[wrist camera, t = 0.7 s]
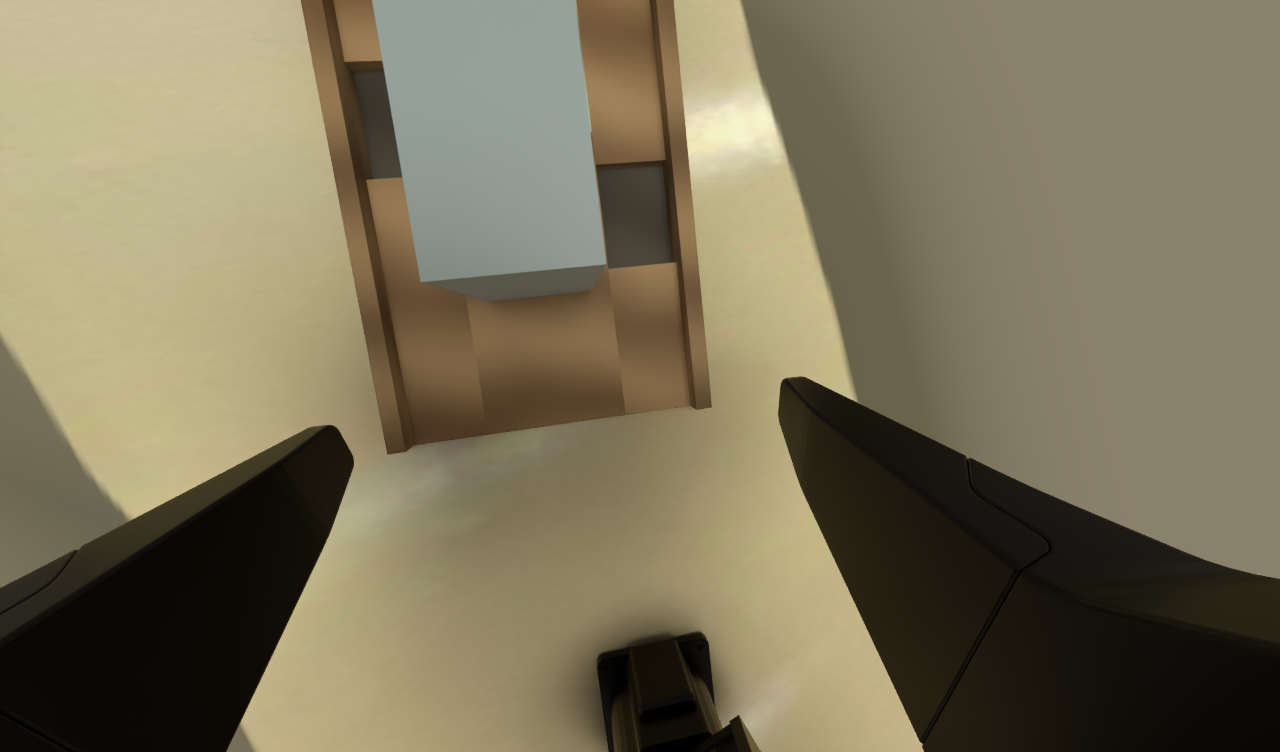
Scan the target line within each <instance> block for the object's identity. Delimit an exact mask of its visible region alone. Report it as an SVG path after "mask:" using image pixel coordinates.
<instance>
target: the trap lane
mask: <svg viewBox="0 0 1280 752" xmlns="http://www.w3.org/2000/svg"><path fill="white" fill-rule="evenodd" d="M301 4H302V9H303V14H304V20H305V25H306V30H307V35H308V41H309V46H310V51H311V56H312V61H313V67H314V72H315V77H316V82H317V88H318V93H319V98H320V103H321V109H322V114H323V119H324V124H325V130H326V135H327V140H328V145H329V151H330V156H331V161H332V166H333V171H334V177H335V182H336V187H337V192H338V198H339V203H340V208H341V213H342V219H343V224H344V229H345V234H346V240H347V245H348V250H349V255H350V261H351V266H352V271H353V276H354V281H355V287H356V292H357V297H358V302H359V308H360V313H361V318H362V323H363V329H364V334H365V339H366V344H367V350H368V355H369V360H370V365H371V370H372V376H373V381H374V386H375V391H376V397H377V402H378V407H379V412H380V418H381V423H382V428H383V433H384V439H385V444H386V449H387V454H393V453H400V452H406V451H407V450H409V449H410V448H411V447H413V446H414V445H418V444H425V443H432V442H439V441H446V440H453V439H460V438H467V437H474V436H481V435H488V434H495V433H502V432H509V431H516V430H523V429H530V428H537V427H544V426H550V425H557V424H564V423H571V422H578V421H585V420H592V419H599V418H606V417H613V416H620V415H627V414H634V413H641V412H648V411H655V410H662V409H669V408H676V407H683V406H690V405H691V406H692V407H694V408H695V409H704V408H711V407H712V404H711V394H710V383H709V372H708V362H707V351H706V341H705V330H704V319H703V309H702V298H701V288H700V277H699V266H698V256H697V245H696V235H695V224H694V213H693V203H692V192H691V182H690V171H689V160H688V150H687V139H686V129H685V118H684V107H683V97H682V86H681V75H680V65H679V54H678V44H677V33H676V22H675V12H674V1H673V0H575V8H576V16H577V24H578V33H579V41H580V49H581V58H582V66H583V74H584V83H585V91H586V99H587V108H588V116H589V124H590V133H591V141H592V149H593V158H594V166H595V174H596V183H597V191H598V199H599V208H600V216H601V224H602V233H603V241H604V249H605V258H606V266H605V267H604V269H603V271H602V273H601V274H600V276H599V278H598V280H597V281H596V283H595V285H594V287H593V288H592V290H591V291H587V292H578V293H568V294H559V295H549V296H539V297H530V298H520V299H511V300H501V301H491V302H487V301H484V300H480V299H477V298H473V297H470V296H467V295H463V294H460V293H456V292H453V291H449V290H446V289H442V288H439V287H436V286H432V285H429V284H425V283H422V282H421V281H420V276H419V270H418V264H417V258H416V252H415V247H414V241H413V235H412V229H411V223H410V218H409V212H408V206H407V200H406V195H405V189H404V183H403V177H402V171H401V166H400V160H399V154H398V148H397V142H396V137H395V131H394V125H393V119H392V113H391V108H390V102H389V96H388V90H387V84H386V79H385V73H384V67H383V61H382V55H381V50H380V44H379V38H378V32H377V26H376V21H375V15H374V9H373V3H372V0H301Z"/></svg>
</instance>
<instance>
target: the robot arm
mask: <svg viewBox="0 0 1280 752" xmlns="http://www.w3.org/2000/svg"><path fill="white" fill-rule="evenodd" d="M778 417H779V423H780V426H781V429H782V432H783V435H784V438H785V441H786V444H787V447H788V451H789V454H790V457H791V460H792V463H793V466H794V469H795V472H796V475H797V478H798V481H799V484H800V486H801V489H802V491H803V493H804V496H805V498H806V500H807V502H808V504H809V506H810V509H811V511H812V513H813V515H814V517H815V519H816V521H817V523H818V526H819V528H820V530H821V532H822V534H823V536H824V538H825V540H826V543H827V545H828V547H829V549H830V551H831V553H832V555H833V558H834V560H835V562H836V564H837V566H838V568H839V570H840V572H841V575H842V577H843V579H844V581H845V583H846V585H847V587H848V589H849V592H850V594H851V596H852V598H853V600H854V602H855V604H856V607H857V609H858V611H859V613H860V615H861V617H862V619H863V621H864V624H865V626H866V628H867V630H868V632H869V634H870V636H871V639H872V641H873V643H874V645H875V647H876V649H877V651H878V653H879V656H880V658H881V660H882V662H883V664H884V666H885V668H886V670H887V673H888V675H889V677H890V679H891V681H892V683H893V685H894V688H895V690H896V692H897V694H898V696H899V698H900V700H901V702H902V705H903V707H904V709H905V711H906V713H907V715H908V717H909V720H910V722H911V724H912V726H913V728H914V730H915V732H916V734H917V737H918V739H919V741H920V742H921V743H922V744H923V745H922V748H923V750H924V752H1280V579H1277V578H1271V577H1266V576H1261V575H1255V574H1251V573H1247V572H1244V571H1239V570H1236V569H1232V568H1228V567H1225V566H1222V565H1219V564H1216V563H1212V562H1209V561H1206V560H1204V559H1201V558H1199V557H1196V556H1193V555H1191V554H1188V553H1186V552H1183V551H1181V550H1179V549H1176V548H1174V547H1171V546H1169V545H1167V544H1165V543H1162V542H1160V541H1157V540H1155V539H1153V538H1150V537H1148V536H1146V535H1143V534H1141V533H1138V532H1136V531H1133V530H1131V529H1129V528H1126V527H1124V526H1122V525H1119V524H1117V523H1115V522H1112V521H1110V520H1108V519H1105V518H1103V517H1100V516H1098V515H1096V514H1093V513H1091V512H1088V511H1086V510H1084V509H1081V508H1079V507H1077V506H1074V505H1072V504H1070V503H1067V502H1065V501H1063V500H1060V499H1058V498H1056V497H1053V496H1051V495H1049V494H1046V493H1044V492H1042V491H1040V490H1037V489H1035V488H1033V487H1030V486H1028V485H1026V484H1024V483H1022V482H1020V481H1017V480H1015V479H1013V478H1011V477H1009V476H1007V475H1005V474H1003V473H1001V472H998V471H996V470H994V469H992V468H990V467H988V466H986V465H984V464H982V463H980V462H978V461H976V460H974V459H972V458H968V459H967V457H966V456H965V455H963V454H961V453H959V452H957V451H955V450H953V449H951V448H949V447H947V446H945V445H943V444H941V443H938V442H937V441H935V440H933V439H931V438H929V437H926V436H924V435H922V434H920V433H918V432H916V431H914V430H912V429H910V428H908V427H906V426H904V425H901V424H900V423H898V422H896V421H894V420H892V419H890V418H887V417H886V416H883V415H881V414H879V413H877V412H875V411H873V410H871V409H869V408H867V407H865V406H863V405H861V404H859V403H857V402H855V401H853V400H851V399H849V398H847V397H845V396H843V395H841V394H838V393H836V392H834V391H832V390H830V389H828V388H826V387H824V386H822V385H820V384H818V383H816V382H814V381H812V380H810V379H808V378H806V377H801V376H800V377H791V378H785V379H783V380H782V382H781V387H780V398H779V409H778ZM353 467H354V459H353V455H352V453H351V451H350V450H349V448H348V446H347V444H346V442H345V440H344V439H343V437H342V435H341V433H340V431H339V430H338V429H337V428H336V427H335V426H332V425H324V426H314V427H310V428H307V429H305V430H303V431H302V432H300V433H298V434H296V435H294V436H292V437H290V438H288V439H286V440H284V441H282V442H280V443H279V444H277V445H275V446H273V447H271V448H269V449H267V450H265V451H263V452H261V453H259V454H257V455H256V456H254V457H252V458H250V459H248V460H246V461H244V462H242V463H240V464H238V465H236V466H234V467H233V468H231V469H229V470H227V471H225V472H223V473H221V474H219V475H217V476H215V477H213V478H211V479H209V480H208V481H206V482H204V483H202V484H200V485H198V486H196V487H194V488H192V489H190V490H188V491H186V492H185V493H183V494H181V495H179V496H177V497H175V498H173V499H171V500H169V501H167V502H165V503H163V504H162V505H160V506H158V507H156V508H154V509H152V510H150V511H148V512H146V513H144V514H142V515H140V516H139V517H137V518H135V519H133V520H131V521H129V522H127V523H125V524H123V525H121V526H119V527H118V528H116V529H114V530H112V531H110V532H108V533H106V534H104V535H102V536H100V537H98V538H96V539H94V540H92V541H91V542H89V543H87V544H85V545H83V546H82V547H81V548H80V549H79V550H73V551H71V552H69V553H67V554H65V555H64V556H62V557H60V558H58V559H56V560H54V561H52V562H50V563H48V564H47V565H44V566H43V567H40V568H38V569H37V570H35V571H33V572H31V573H29V574H27V575H25V576H23V577H21V578H19V579H17V580H15V581H13V582H11V583H9V584H7V585H5V586H4V587H1V588H0V752H227V749H228V747H229V745H230V743H231V741H232V739H233V737H234V735H235V733H236V730H237V728H238V726H239V724H240V722H241V720H242V718H243V716H244V714H245V712H246V709H247V707H248V705H249V703H250V701H251V699H252V697H253V695H254V693H255V691H256V688H257V686H258V684H259V682H260V680H261V678H262V676H263V674H264V672H265V670H266V667H267V665H268V663H269V661H270V659H271V657H272V655H273V653H274V651H275V649H276V646H277V644H278V642H279V640H280V638H281V636H282V634H283V632H284V630H285V628H286V625H287V623H288V621H289V619H290V617H291V615H292V613H293V611H294V609H295V607H296V604H297V602H298V600H299V598H300V596H301V594H302V592H303V590H304V588H305V586H306V583H307V581H308V579H309V577H310V575H311V573H312V571H313V569H314V567H315V564H316V562H317V560H318V558H319V556H320V554H321V552H322V550H323V548H324V545H325V543H326V541H327V539H328V537H329V534H330V532H331V529H332V526H333V524H334V521H335V518H336V515H337V512H338V510H339V507H340V504H341V501H342V498H343V496H344V493H345V490H346V487H347V484H348V481H349V479H350V476H351V473H352V470H353ZM699 642H702V644H701V645H697V643H699ZM604 663H609V664H608V665H607V666H604V665H603V664H604ZM597 670H598V677H599V685H600V692H601V699H602V706H603V714H604V721H605V728H606V735H607V743H608V750H609V752H761V751H760V750H759V748H758V746H757V745H756V743H755V741H754V740H753V738H752V736H751V734H750V733H749V731H748V729H747V728H746V726H745V724H744V723H743V721H742V719H741V718H740V716H739V715H738V716H737V717H735V718H734V719H732V720H730V721H729V722H730V724H729V725H728V726H726V727H724V728H722V725H721V722H720V720H719V717H718V714H717V712H716V709H715V703H714V693H713V683H712V673H711V663H710V654H709V644H708V641H707V639H706V637H705V636H704V635H703V634H693V635H689V636H684V637H679V638H675V639H670V640H665V641H661V642H656V643H652V644H647V645H642V646H638V647H633V648H628V649H624V650H619V651H614V652H610V653H605V654H602V655H601V656H600V657H599V658H598V660H597Z"/></svg>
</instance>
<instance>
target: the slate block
mask: <svg viewBox="0 0 1280 752" xmlns="http://www.w3.org/2000/svg"><path fill="white" fill-rule="evenodd" d="M372 3H373V9H374V15H375V21H376V26H377V32H378V38H379V44H380V50H381V55H382V61H383V67H384V73H385V79H386V84H387V90H388V96H389V102H390V108H391V113H392V119H393V125H394V131H395V137H396V142H397V148H398V154H399V160H400V166H401V171H402V177H403V183H404V189H405V195H406V200H407V206H408V212H409V218H410V223H411V229H412V235H413V241H414V247H415V252H416V258H417V264H418V270H419V276H420V281H421V282H422V283H425V284H429V285H432V286H436V287H439V288H442V289H446V290H449V291H453V292H456V293H460V294H463V295H467V296H470V297H473V298H477V299H480V300H484V301H487V302H491V301H501V300H511V299H520V298H530V297H539V296H549V295H559V294H568V293H578V292H587V291H591V290H592V288H593V287H594V285H595V283H596V281H597V280H598V278H599V276H600V274H601V273H602V271H603V269H604V267H605V266H606V258H605V249H604V241H603V233H602V224H601V216H600V208H599V199H598V191H597V183H596V174H595V166H594V158H593V149H592V141H591V133H590V124H589V116H588V108H587V99H586V91H585V83H584V74H583V66H582V58H581V49H580V41H579V33H578V24H577V16H576V8H575V0H372Z"/></svg>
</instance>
